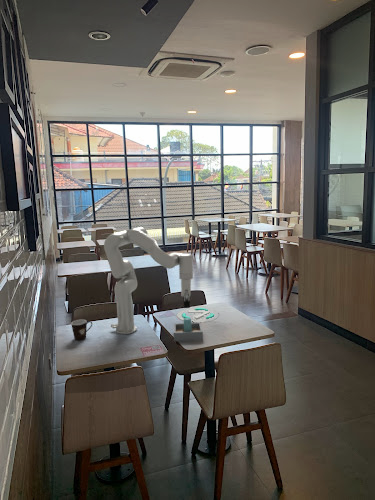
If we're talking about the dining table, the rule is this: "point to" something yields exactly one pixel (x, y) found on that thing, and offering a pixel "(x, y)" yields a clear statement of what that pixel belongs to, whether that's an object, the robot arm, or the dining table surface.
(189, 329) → the peg
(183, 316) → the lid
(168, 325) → the dining table surface
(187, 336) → the bore box
